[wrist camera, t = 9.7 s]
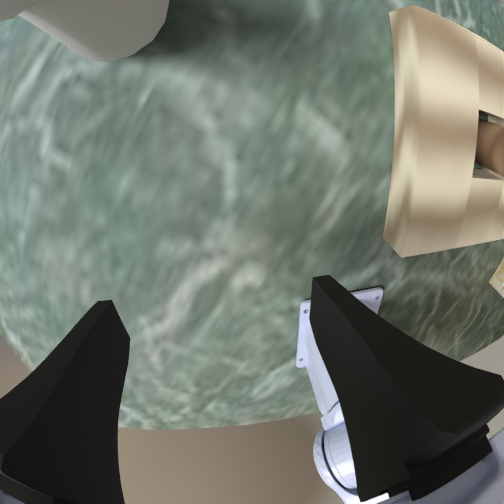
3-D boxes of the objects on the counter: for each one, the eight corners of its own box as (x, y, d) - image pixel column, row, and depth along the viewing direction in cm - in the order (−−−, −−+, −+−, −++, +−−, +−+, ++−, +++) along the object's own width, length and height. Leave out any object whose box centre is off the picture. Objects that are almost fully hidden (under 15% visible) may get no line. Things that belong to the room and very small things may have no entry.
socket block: (498, 223, 22) (515, 236, 20) (382, 238, 21) (401, 257, 18) (515, 72, 13) (536, 76, 10) (389, 12, 12) (414, 4, 9)
